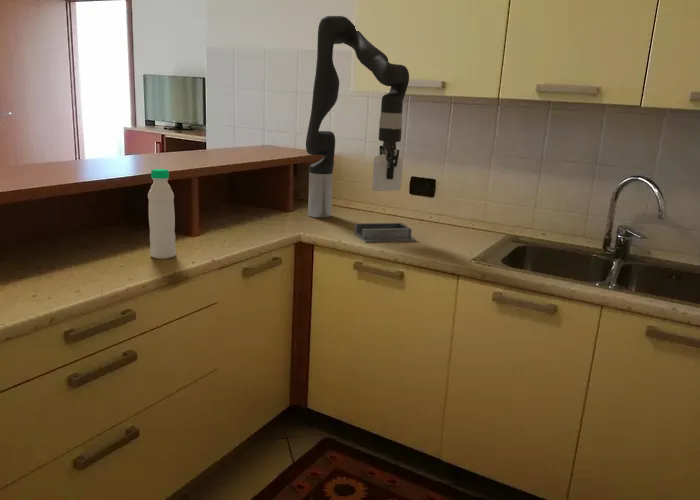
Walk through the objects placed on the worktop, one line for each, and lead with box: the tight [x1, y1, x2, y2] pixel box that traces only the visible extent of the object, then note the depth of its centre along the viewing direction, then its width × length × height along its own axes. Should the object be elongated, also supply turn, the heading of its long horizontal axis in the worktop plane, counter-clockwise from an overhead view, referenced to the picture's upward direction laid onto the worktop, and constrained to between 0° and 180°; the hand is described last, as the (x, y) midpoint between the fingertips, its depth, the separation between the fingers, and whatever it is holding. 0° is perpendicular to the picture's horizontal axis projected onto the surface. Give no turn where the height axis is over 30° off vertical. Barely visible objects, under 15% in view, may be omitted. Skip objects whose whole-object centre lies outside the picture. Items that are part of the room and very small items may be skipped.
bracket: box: [353, 222, 416, 243], centre depth 203 cm, size 14×18×4 cm
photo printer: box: [371, 154, 403, 192], centre depth 198 cm, size 10×4×12 cm, turn 114°
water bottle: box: [147, 168, 177, 260], centre depth 165 cm, size 7×7×25 cm
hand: (387, 177), depth 198 cm, fingers closed on photo printer, 4 cm apart
